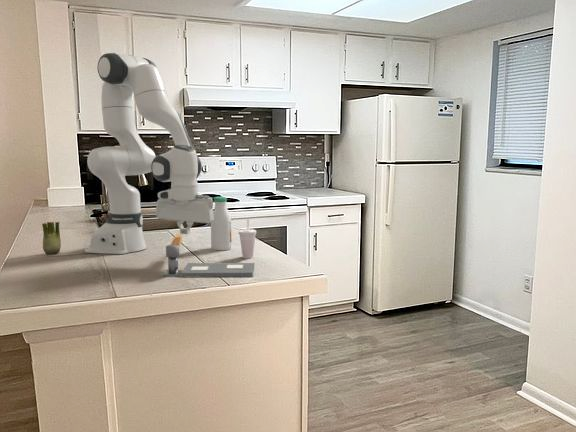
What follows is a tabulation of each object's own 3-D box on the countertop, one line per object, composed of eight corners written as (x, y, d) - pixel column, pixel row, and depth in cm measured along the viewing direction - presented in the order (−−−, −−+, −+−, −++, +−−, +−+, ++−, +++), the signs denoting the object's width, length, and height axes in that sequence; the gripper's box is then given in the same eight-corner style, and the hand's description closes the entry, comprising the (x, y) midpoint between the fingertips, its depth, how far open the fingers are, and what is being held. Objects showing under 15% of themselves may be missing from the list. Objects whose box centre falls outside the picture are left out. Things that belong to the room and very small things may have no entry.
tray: (181, 276, 156) (181, 271, 156) (188, 266, 168) (188, 262, 168) (252, 276, 157) (252, 271, 156) (254, 266, 169) (254, 262, 168)
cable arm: (178, 257, 157) (178, 247, 156) (165, 257, 156) (165, 247, 156) (184, 241, 180) (184, 232, 180) (173, 241, 180) (172, 232, 179)
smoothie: (242, 260, 177) (242, 220, 175) (236, 256, 183) (235, 218, 180) (259, 258, 180) (259, 219, 178) (252, 254, 186) (252, 216, 183)
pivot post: (163, 276, 157) (163, 258, 156) (167, 272, 162) (166, 255, 161) (179, 276, 157) (179, 258, 156) (182, 271, 162) (182, 255, 161)
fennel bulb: (61, 252, 189) (59, 220, 187) (60, 255, 185) (58, 222, 183) (44, 253, 187) (42, 221, 186) (42, 256, 183) (40, 223, 181)
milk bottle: (227, 251, 190) (226, 198, 187) (208, 250, 192) (207, 198, 189) (234, 247, 198) (233, 196, 195) (215, 246, 199) (214, 195, 196)
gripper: (216, 194, 172) (216, 234, 174) (162, 190, 177) (163, 229, 180) (208, 197, 166) (208, 238, 168) (153, 193, 171) (154, 232, 174)
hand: (185, 233), depth 174 cm, fingers closed
